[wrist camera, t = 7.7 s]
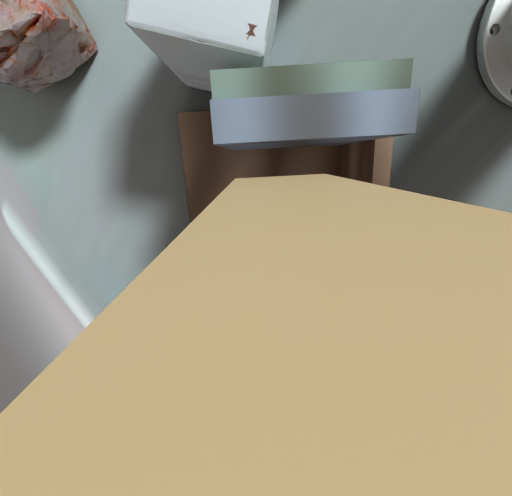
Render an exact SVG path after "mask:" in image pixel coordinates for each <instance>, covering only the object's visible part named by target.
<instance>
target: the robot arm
mask: <svg viewBox="0 0 512 496" xmlns="http://www.w3.org/2000/svg"><path fill="white" fill-rule="evenodd" d="M477 60H478V67H479V71H480V73H481V76H482V79H483V81H484V83H485V85H486V86H487V88H488V89H489V91H490V92H491V93H492V94H493V95H494V96H495V97H496V98H497V99H498V100H500V101H501V102H503V103H505V104H507V105H508V106H511V107H512V0H489V1H488V3H487V5H486V7H485V10H484V13H483V16H482V19H481V21H480V26H479V31H478V36H477Z"/></svg>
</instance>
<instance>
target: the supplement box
mask: <svg viewBox="0 0 512 496" xmlns="http://www.w3.org/2000/svg"><path fill="white" fill-rule="evenodd" d="M278 6H279V0H126V11H125V23H126V24H127V25H128V26H129V27H130V28H131V29H132V30H133V31H134V33H135V34H136V35H137V36H138V37H139V38H140V39H141V40H142V41H143V42H144V43H145V44H146V45H147V46H148V47H149V48H150V49H151V50H152V51H153V52H154V53H155V54H156V55H157V56H158V57H159V58H160V59H161V60H162V61H163V62H164V63H165V64H166V65H167V66H168V67H169V68H170V69H171V70H172V71H173V72H174V73H175V74H176V75H177V76H178V77H179V79H180V80H181V81H182V82H183V83H184V84H185V85H186V86H189V87H193V88H197V89H201V90H205V91H209V92H211V81H210V70H219V69H236V68H253V67H268V66H269V61H270V56H271V50H272V45H273V39H274V34H275V28H276V21H277V16H278Z"/></svg>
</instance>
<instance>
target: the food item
mask: <svg viewBox="0 0 512 496" xmlns="http://www.w3.org/2000/svg"><path fill="white" fill-rule="evenodd" d="M97 50H98V49H97V47H96V43H95V41H94V39H93V38H92V36H91V34H90V32H89V30H88V28H87V26H86V24H85V22H84V20H83V18H82V16H81V15H80V13H79V11H78V9H77V7H76V6H75V4H74V3H73V1H72V0H0V83H4V84H8V85H9V84H11V85H13V86H16V87H18V88H22V87H23V88H25V89H27V90H29V91H30V92H34V93H37V92H39V91H40V90H41V89H42V88H44V87H48V86H51V85H52V84H53V83H55V82H56V81H60V80H63V79H65V78H67V77H68V76H70V75H71V74H73V72H74V71H75V69H76V68H77V67H79V66H80V65H82V64H83V63H84V62H86V61H87V60H88V59H89V58H90V57H91V56H92V55H93V54H94V53H95V52H96V51H97Z"/></svg>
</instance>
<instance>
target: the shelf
mask: <svg viewBox="0 0 512 496" xmlns="http://www.w3.org/2000/svg"><path fill="white" fill-rule="evenodd" d="M412 65H413V58H407V59H390V60H373V61H356V62H339V63H321V64H304V65H287V66H270V67H253V68H236V69H219V70H210V81H211V92H212V100H210V111H195V112H177V118H178V126H179V134H180V142H181V150H182V158H183V167H184V175H185V183H186V191H187V199H188V207H189V216H190V223H191V222H192V221H193V220H194V219H195V218H196V217H197V216H198V215H199V214H200V213H201V212H202V211H203V210H204V209H205V208H206V207H207V206H208V205H209V204H210V203H211V202H212V201H213V200H214V199H215V198H216V197H217V196H218V195H219V194H220V193H221V192H222V191H223V190H224V189H225V188H226V187H227V186H228V185H229V184H230V183H231V182H232V181H233V180H234V179H235V178H254V177H273V176H292V175H311V174H329V175H334V176H338V177H343V178H348V179H353V180H357V181H362V182H367V183H371V184H376V185H381V186H386V187H389V186H390V174H391V163H392V151H393V140H394V136H401V135H407V134H414V133H416V126H417V117H418V108H419V99H420V89H421V88H410V85H411V75H412Z"/></svg>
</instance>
